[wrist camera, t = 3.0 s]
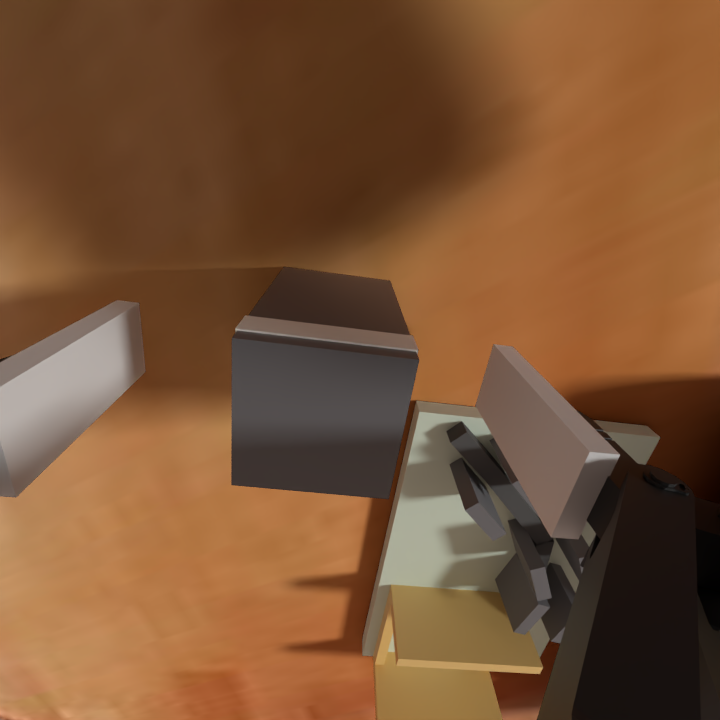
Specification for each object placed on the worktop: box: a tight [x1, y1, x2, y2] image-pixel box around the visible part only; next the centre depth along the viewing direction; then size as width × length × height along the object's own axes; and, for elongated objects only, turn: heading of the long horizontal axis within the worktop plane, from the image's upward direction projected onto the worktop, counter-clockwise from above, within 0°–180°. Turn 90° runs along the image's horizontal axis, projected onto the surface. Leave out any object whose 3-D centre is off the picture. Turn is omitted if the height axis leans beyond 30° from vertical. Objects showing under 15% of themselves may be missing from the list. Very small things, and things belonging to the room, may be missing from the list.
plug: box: [232, 267, 419, 499], centre depth 14 cm, size 5×5×8 cm
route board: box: [362, 401, 661, 658], centre depth 22 cm, size 19×12×4 cm, turn 172°
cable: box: [446, 421, 554, 570], centre depth 21 cm, size 13×3×1 cm, turn 23°
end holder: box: [373, 584, 543, 720], centre depth 24 cm, size 7×8×4 cm
